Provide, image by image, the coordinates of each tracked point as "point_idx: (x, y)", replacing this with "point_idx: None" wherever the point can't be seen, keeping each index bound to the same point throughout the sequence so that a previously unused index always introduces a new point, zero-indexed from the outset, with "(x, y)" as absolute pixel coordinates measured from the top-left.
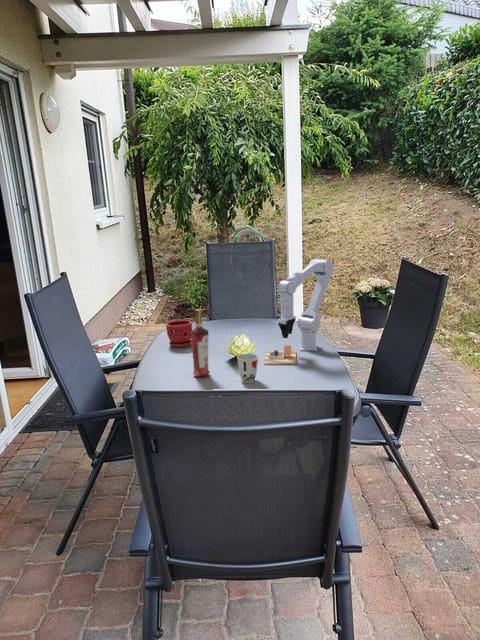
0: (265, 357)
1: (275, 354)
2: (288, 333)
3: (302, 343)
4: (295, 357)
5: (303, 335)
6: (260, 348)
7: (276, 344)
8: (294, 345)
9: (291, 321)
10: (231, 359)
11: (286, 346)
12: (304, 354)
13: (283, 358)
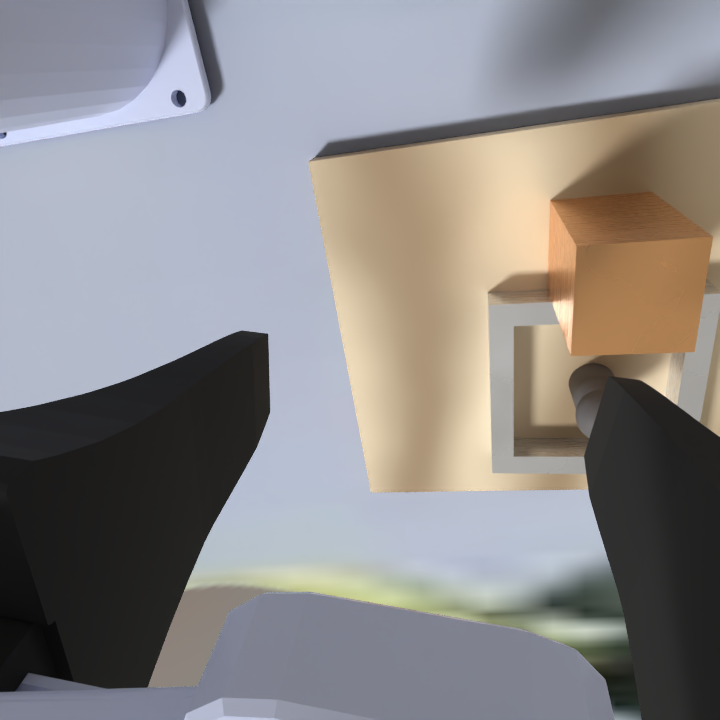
0: None
1: None
2: (656, 416)
3: (105, 88)
4: (629, 123)
5: (15, 70)
6: (250, 535)
7: None
8: (17, 222)
9: (103, 530)
10: (618, 704)
11: (645, 318)
12: (367, 11)
13: (711, 289)
